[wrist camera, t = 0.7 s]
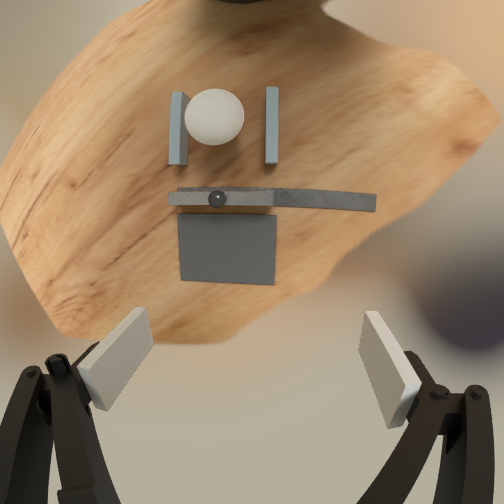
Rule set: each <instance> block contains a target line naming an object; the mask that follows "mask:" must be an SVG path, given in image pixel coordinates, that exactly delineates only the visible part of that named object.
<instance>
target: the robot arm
mask: <svg viewBox="0 0 504 504" xmlns="http://www.w3.org/2000/svg"><path fill="white" fill-rule="evenodd" d="M221 1H225V2H232V3H249V2H256V1H261V0H221ZM153 345H154V342H153V338H152V333H151V328H150V324H149V319H148V313H147V308H145V307H135V308H134V309H133V310H132V311H131V312H130V313H129V314H128V315H127V316H126V317H125V318H124V319H123V320H122V321H121V322H120V323H119V324H118V325H117V326H116V327H115V328H114V329H113V330H112V331H111V332H110V333H109V334H108V335H107V336H106V337H105V338H104V339H103V340H102V341H101V342H97V343H95V344H93V345H91V346H90V347H89V348H88V349H87V350H86V352H84V353H83V354H82V356H80V357H79V358H78V359H77V360H76V361H75V362H74V363H73V364H72V365H71V366H70V363H69V361H68V358H67V356H66V355H64V354H54V355H52V356H50V357H48V358H47V359H46V361H45V365H46V367H47V369H48V372H49V374H43V373H42V371H41V369H40V367H38V366H29V367H27V368H26V369H24V370H23V372H22V373H21V375H20V378H19V380H18V382H17V384H16V387H15V389H14V391H13V394H12V396H11V399H10V401H9V403H8V406H7V409H6V411H5V414H4V417H3V420H2V422H1V425H0V504H48V485H49V473H50V463H51V454H52V448H53V441H54V444H55V451H56V459H57V465H58V470H59V476H60V481H61V485H62V489H61V490H58V492H57V496H58V502H59V504H121V503H120V500H119V498H118V496H117V493H116V491H115V488H114V485H113V483H112V480H111V478H110V475H109V472H108V469H107V466H106V463H105V461H104V457H103V454H102V451H101V447H100V444H99V440H98V437H97V433H96V430H95V426H94V421H93V418H92V413H91V409H90V407H89V405H88V404H89V403H90V401H91V400H92V401H93V404H94V406H95V407H96V408H98V409H101V410H104V411H108V410H109V409H110V407H111V406H112V404H113V403H114V401H115V400H116V398H117V397H118V395H119V394H120V393H121V391H122V390H123V388H124V387H125V385H126V384H127V382H128V381H129V379H130V378H131V377H132V375H133V374H134V372H135V371H136V369H137V368H138V366H139V365H140V364H141V362H142V361H143V359H144V358H145V357H146V355H147V354H148V352H149V351H150V349H151V348H152V347H153ZM358 350H359V353H360V356H361V358H362V361H363V363H364V366H365V368H366V371H367V374H368V376H369V379H370V382H371V384H372V387H373V389H374V392H375V395H376V397H377V400H378V403H379V406H380V409H381V412H382V414H383V417H384V420H385V423H386V426H387V429H390V428H395V427H400V426H402V425H403V424H404V421H405V419H406V418H407V420H408V423H409V424H408V426H407V428H406V430H405V432H404V433H403V435H402V437H401V439H400V441H399V442H398V444H397V446H396V447H395V449H394V451H393V452H392V454H391V456H390V457H389V459H388V460H387V462H386V463H385V465H384V466H383V468H382V470H381V471H380V473H379V474H378V475H377V477H376V478H375V480H374V481H373V482H372V484H371V485H370V487H369V488H368V489H367V491H366V492H365V493H364V495H363V496H362V497H361V498H360V500H359V501H358V502H357V504H403V503H404V501H405V499H406V498H407V496H408V494H409V493H410V491H411V489H412V487H413V485H414V484H415V482H416V480H417V478H418V476H419V474H420V472H421V470H422V468H423V466H424V464H425V462H426V460H427V458H428V455H429V453H430V451H431V449H432V446H433V444H434V442H435V440H436V437H437V435H443V444H442V453H441V462H440V468H439V475H438V481H437V486H436V491H435V496H434V500H433V504H493V494H494V471H495V461H494V436H493V425H492V415H491V408H490V401H489V395H488V392H487V390H486V389H485V388H483V387H482V386H480V385H471V386H468V387H467V389H466V390H465V392H464V393H463V394H462V393H459V394H458V393H450V391H449V390H448V389H447V388H446V387H445V386H442V385H439V384H436V383H435V382H434V380H433V378H432V377H431V375H430V374H429V372H428V371H427V369H426V368H425V366H424V364H423V363H422V361H421V360H420V358H419V357H418V355H416V354H414V353H413V352H412V351H404V352H403V351H402V349H401V348H400V346H399V344H398V343H397V341H396V340H395V338H394V336H393V335H392V333H391V332H390V330H389V328H388V327H387V325H386V324H385V322H384V321H383V319H382V318H381V316H380V315H379V313H378V312H377V311H365V315H364V321H363V328H362V333H361V338H360V344H359V349H358Z"/></svg>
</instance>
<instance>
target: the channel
mask: <svg viewBox="0 0 504 504" xmlns="http://www.w3.org/2000/svg"><path fill="white" fill-rule="evenodd" d="M189 102H190V98H189V97H188V96H187V95H185V94H184V93H183V92H175V93H171V108H170V130H169V164H171V165H188V130H187V128H186V125H185V110H186V108H187V105H188V104H189ZM266 164H278V87H266Z"/></svg>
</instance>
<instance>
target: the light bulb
mask: <svg viewBox="0 0 504 504" xmlns="http://www.w3.org/2000/svg"><path fill="white" fill-rule="evenodd" d="M243 123H244V109H243V106H242V104H241V102H240V101H239V99H238V98H237V97H236V96H235V95H233V94H232V93H231V92H229V91H226V90H223V89H208V90H204V91H202V92H200V93H198V94H197V95H196V96H194V97H193V98H192V99H191V101H190V102H189V104H188V105H187V108H186V110H185V125H186V128H187V130H188V132H189V133H190V135H191V136H192V137H193V138H194V139H196V140H197V141H199V142H201V143H203V144H206V145H220V144H224V143H226V142H228V141H230V140H232V139H233V138H234V137H235V136H236V135H237V134H238V133H239V132H240V130H241V128H242V126H243Z"/></svg>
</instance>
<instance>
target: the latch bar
mask: <svg viewBox="0 0 504 504" xmlns="http://www.w3.org/2000/svg"><path fill="white" fill-rule="evenodd" d="M273 193H274V191H243V190H200V191H176V192H169V193H168V203H169V205H211V206H212V207H215V208H218V207H221V206H223V205H249V206H273Z"/></svg>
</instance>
